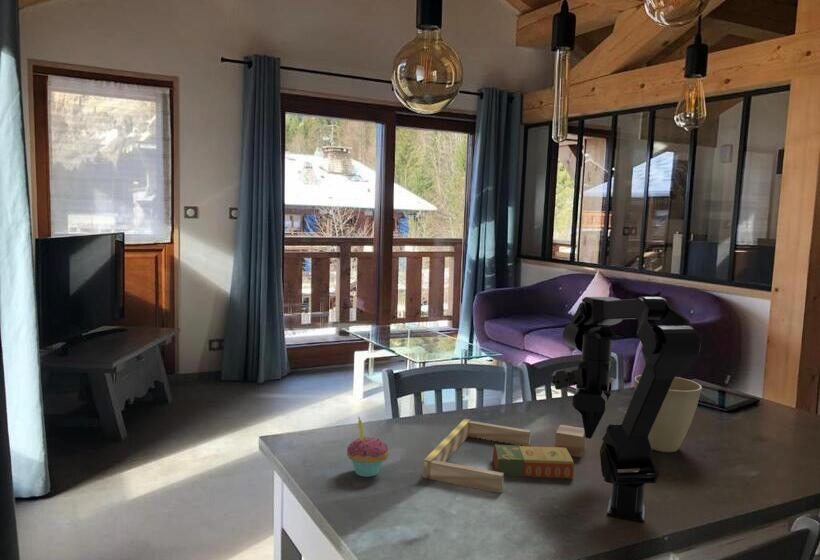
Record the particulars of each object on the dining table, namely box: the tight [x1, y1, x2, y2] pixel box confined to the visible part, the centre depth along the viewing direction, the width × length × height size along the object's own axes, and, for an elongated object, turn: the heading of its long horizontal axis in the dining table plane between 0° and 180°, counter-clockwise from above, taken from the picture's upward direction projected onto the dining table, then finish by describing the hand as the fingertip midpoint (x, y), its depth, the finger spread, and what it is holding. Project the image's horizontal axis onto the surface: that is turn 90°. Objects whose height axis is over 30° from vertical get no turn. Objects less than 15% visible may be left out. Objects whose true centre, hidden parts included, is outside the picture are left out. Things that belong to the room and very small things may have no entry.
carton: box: [492, 444, 575, 480], centre depth 141 cm, size 8×16×4 cm, turn 88°
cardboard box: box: [554, 424, 586, 458], centre depth 153 cm, size 6×6×5 cm
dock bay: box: [422, 418, 532, 494], centre depth 145 cm, size 29×16×4 cm, turn 159°
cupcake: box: [346, 416, 389, 478], centre depth 136 cm, size 9×8×12 cm
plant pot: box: [634, 374, 703, 453], centre depth 157 cm, size 15×15×16 cm
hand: (590, 431), depth 137 cm, fingers open, 9 cm apart
